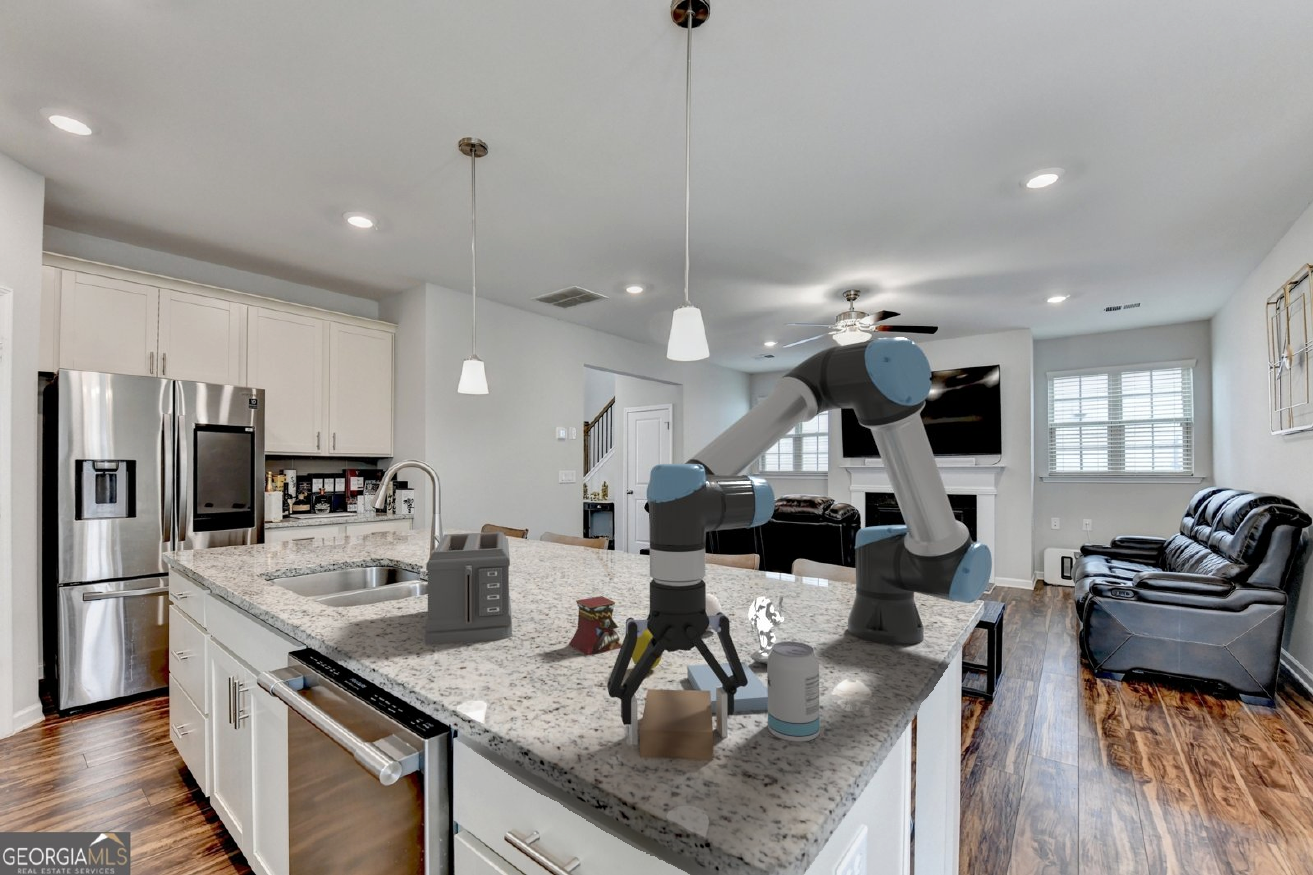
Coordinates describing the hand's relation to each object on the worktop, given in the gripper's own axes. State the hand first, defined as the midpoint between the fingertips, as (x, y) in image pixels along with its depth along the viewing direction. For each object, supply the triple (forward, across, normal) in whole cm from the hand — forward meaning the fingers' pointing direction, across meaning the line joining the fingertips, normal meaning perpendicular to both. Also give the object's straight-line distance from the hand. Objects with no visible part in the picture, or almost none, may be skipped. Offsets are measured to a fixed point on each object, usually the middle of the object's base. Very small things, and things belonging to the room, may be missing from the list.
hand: (678, 743), depth 78 cm
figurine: (0, -22, -25) cm, 34 cm away
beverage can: (0, -16, +1) cm, 16 cm away
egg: (0, -17, -46) cm, 49 cm away
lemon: (0, 0, -25) cm, 25 cm away
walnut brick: (+1, 0, 0) cm, 1 cm away
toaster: (+1, +34, -60) cm, 69 cm away
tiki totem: (0, +8, -40) cm, 41 cm away
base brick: (+1, -11, -13) cm, 17 cm away
